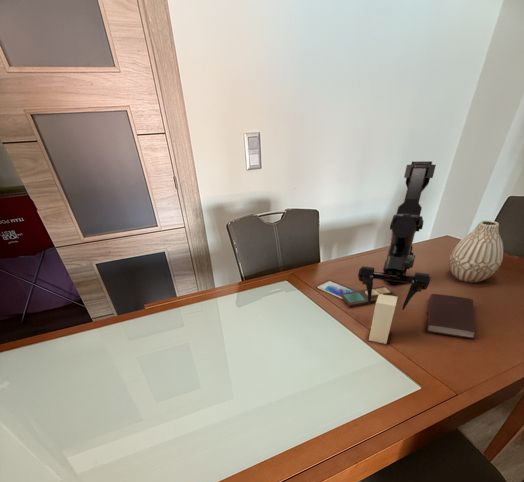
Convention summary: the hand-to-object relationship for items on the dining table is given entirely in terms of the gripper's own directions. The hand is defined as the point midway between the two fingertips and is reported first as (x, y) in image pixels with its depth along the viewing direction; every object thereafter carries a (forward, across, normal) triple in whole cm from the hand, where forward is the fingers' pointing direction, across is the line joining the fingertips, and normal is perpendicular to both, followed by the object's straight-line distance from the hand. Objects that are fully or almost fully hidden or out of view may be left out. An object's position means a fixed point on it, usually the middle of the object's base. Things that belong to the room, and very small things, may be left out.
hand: (385, 306), depth 86 cm
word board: (-7, -7, +21) cm, 23 cm away
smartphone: (-8, -18, +22) cm, 30 cm away
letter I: (+8, 0, +5) cm, 10 cm away
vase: (-26, +25, +39) cm, 53 cm away
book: (-4, +19, +17) cm, 26 cm away
